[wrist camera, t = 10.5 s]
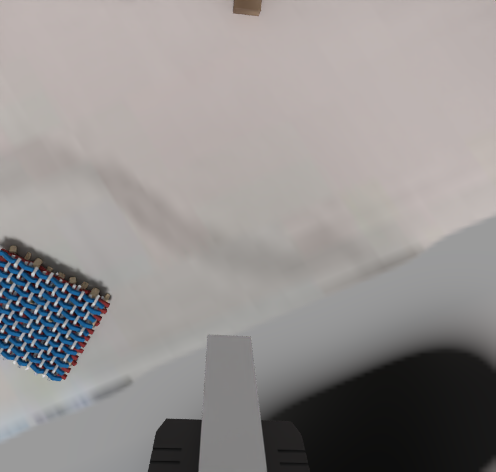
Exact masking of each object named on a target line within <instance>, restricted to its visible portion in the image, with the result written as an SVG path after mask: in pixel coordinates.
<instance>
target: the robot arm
mask: <svg viewBox="0 0 496 472" xmlns="http://www.w3.org/2000/svg"><path fill="white" fill-rule="evenodd" d="M148 472H310V469H309V466H308V461H307V457H306V454H305V448H304V444H303V440H302V436H301V434H300V433H299V431H298V430H297V429H296V427H295V426H294V425H293V423H292V422H291V421H263V420H261V417H260V409H259V401H258V392H257V384H256V377H255V368H254V360H253V351H252V343H251V337H248V336H227V335H208V336H207V351H206V368H205V383H204V397H203V413H202V420H192V419H191V420H189V419H166V420H165V421H164V422H163V424H162V425H161V426H160V428H159V429H158V430H157V432H156V435H155V440H154V445H153V451H152V454H151V459H150V464H149V469H148Z"/></svg>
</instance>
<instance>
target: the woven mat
mask: <svg viewBox="0 0 496 472" xmlns="http://www.w3.org/2000/svg"><path fill="white" fill-rule="evenodd" d="M16 254H17V248H16V246H10V250H9V251H7V250H5V249H3V248H2V249H1V250H0V354H2V355H3V356H4V358H3V360H5V361H6V359H9V360H14V361H13V364H16V362H18V364H19V366H18V367H19V368H21V367H22V366H27V367H26V369H27V370H28V369H29V367H31V368H32V369H33V370H34V371H35V373H34V375H37V374H38V373H42V374H43V375H42V377H43V378H44V377H45V376H46V375H47V376H48V379H47V380H49V381H50V380H55V381H61V379H64V380H65V379H66V377H67V375H66V374H65V372H67V373H69V372H70V370H71V368H69V366H70V365H71V364H72V365H73V366H75V365H76V364H77V362H76V361H75V360H77V358H78V357H79V356H77V355H76V354H77V352H79V353H83V351H84V350H83V349H81V346H82V347H83V348H84V347H85V345H86V344H87V343H85V342H84V341H85V340H86V341H88V340H89V339H90V336H88V334H93V332H94V330H93V329H92V327H93V326H94V325H95V326H98V325H99V324H100V323H99V321H100V320H101V319H102V317H101V316H99V315H100V314H101V313H104V314H105V313H106V312H107V309H104V307H107V308H108V307H109V305H110V304H109V303H108V299H109V297H110V295H109V294H107V293H106V295H105V296H104V297H103V296H102V297H101V298H100V295H98V294H99V292H100V290H98V289H97V288H93V289H92V290H91V291H89V290H86V288H87V286H88V283H87V282H85V281H84V282H83V283H82V285H78V286H76V277H70V278H69V281H66V280H64V278H65V274H63V273H61V272H59V273H58V272H57V273H56V274H54V273H52V271H53V268H51V267H49V266H48V267H47V269H45V268H44V267H43V266H41V264H42V262H43V261H42V260H41V259H39V258H37V259H36V260H35V261H34V262H33V261H29V259H30V257H31V253H29V252H28V253H27V254H26V256H25V257H24V258H22V257H20V256H18V255H16ZM27 265H28V266H27ZM21 275H22V276H21ZM5 281H6V282H5ZM48 285H49V286H48ZM87 295H88V296H87ZM25 300H27V302H26V301H25ZM66 303H68V304H66ZM4 308H5V309H4ZM44 318H46V320H45V319H44ZM97 320H98V321H97ZM85 321H86V322H85ZM25 326H26V328H25ZM36 331H37V332H38V333H37V332H36ZM63 336H64V337H63ZM71 339H72V340H71ZM2 340H5V341H4V342H3V341H2ZM43 343H45V344H44V345H43ZM56 350H57V351H56ZM10 354H11V355H10ZM21 358H23V360H22V359H21ZM62 360H63V361H62ZM37 366H38V367H37Z"/></svg>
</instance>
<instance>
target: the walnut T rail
mask: <svg viewBox="0 0 496 472" xmlns="http://www.w3.org/2000/svg"><path fill="white" fill-rule="evenodd" d="M261 2H262V0H234V7H233V13H236V14H245V15H254V16H259V13H260V11H261Z"/></svg>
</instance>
